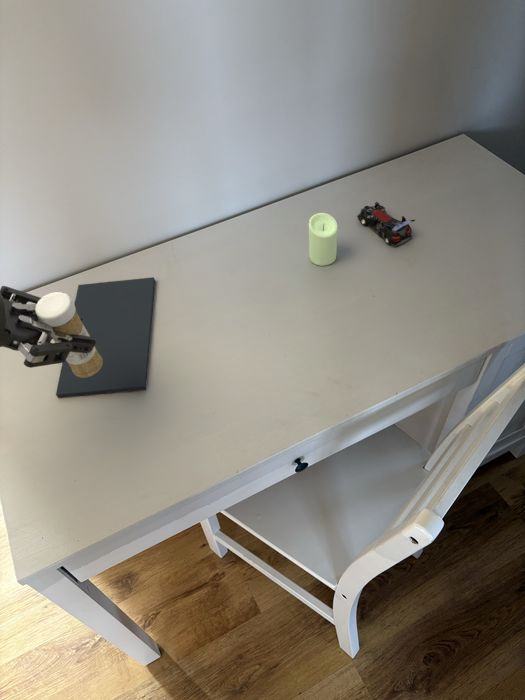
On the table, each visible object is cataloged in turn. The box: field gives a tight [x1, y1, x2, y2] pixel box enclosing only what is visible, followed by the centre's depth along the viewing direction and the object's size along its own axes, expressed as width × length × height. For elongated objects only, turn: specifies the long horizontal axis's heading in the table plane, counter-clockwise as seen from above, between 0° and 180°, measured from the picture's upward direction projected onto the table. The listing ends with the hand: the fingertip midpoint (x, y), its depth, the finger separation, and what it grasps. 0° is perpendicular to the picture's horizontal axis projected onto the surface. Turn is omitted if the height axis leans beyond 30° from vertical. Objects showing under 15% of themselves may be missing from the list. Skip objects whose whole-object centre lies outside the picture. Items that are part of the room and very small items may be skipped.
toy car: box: [356, 201, 416, 248], centre depth 101 cm, size 6×12×4 cm, turn 33°
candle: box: [308, 212, 339, 267], centre depth 96 cm, size 5×5×8 cm
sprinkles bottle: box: [35, 291, 103, 378], centre depth 72 cm, size 5×5×13 cm
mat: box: [55, 276, 156, 399], centre depth 91 cm, size 24×14×1 cm, turn 4°
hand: (85, 333), depth 73 cm, fingers closed on sprinkles bottle, 4 cm apart
